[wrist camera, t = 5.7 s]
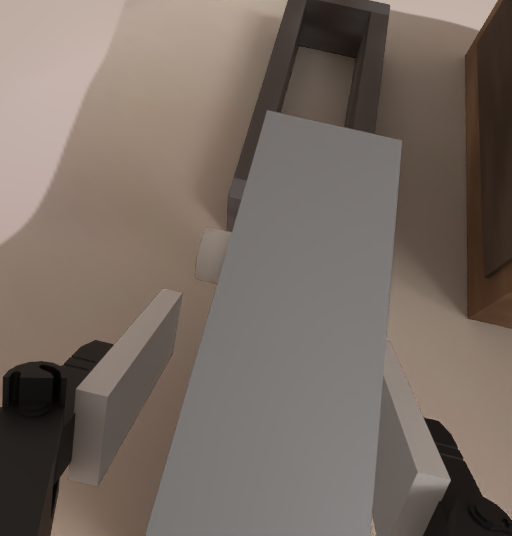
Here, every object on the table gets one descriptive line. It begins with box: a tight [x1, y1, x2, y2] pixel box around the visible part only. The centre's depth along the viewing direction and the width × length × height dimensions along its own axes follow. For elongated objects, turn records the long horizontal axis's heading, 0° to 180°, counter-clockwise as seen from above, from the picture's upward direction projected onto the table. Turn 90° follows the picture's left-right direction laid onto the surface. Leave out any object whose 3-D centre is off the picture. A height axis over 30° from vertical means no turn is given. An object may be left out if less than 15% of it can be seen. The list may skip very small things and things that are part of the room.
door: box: [145, 110, 402, 536], centre depth 13 cm, size 4×12×14 cm, turn 167°
